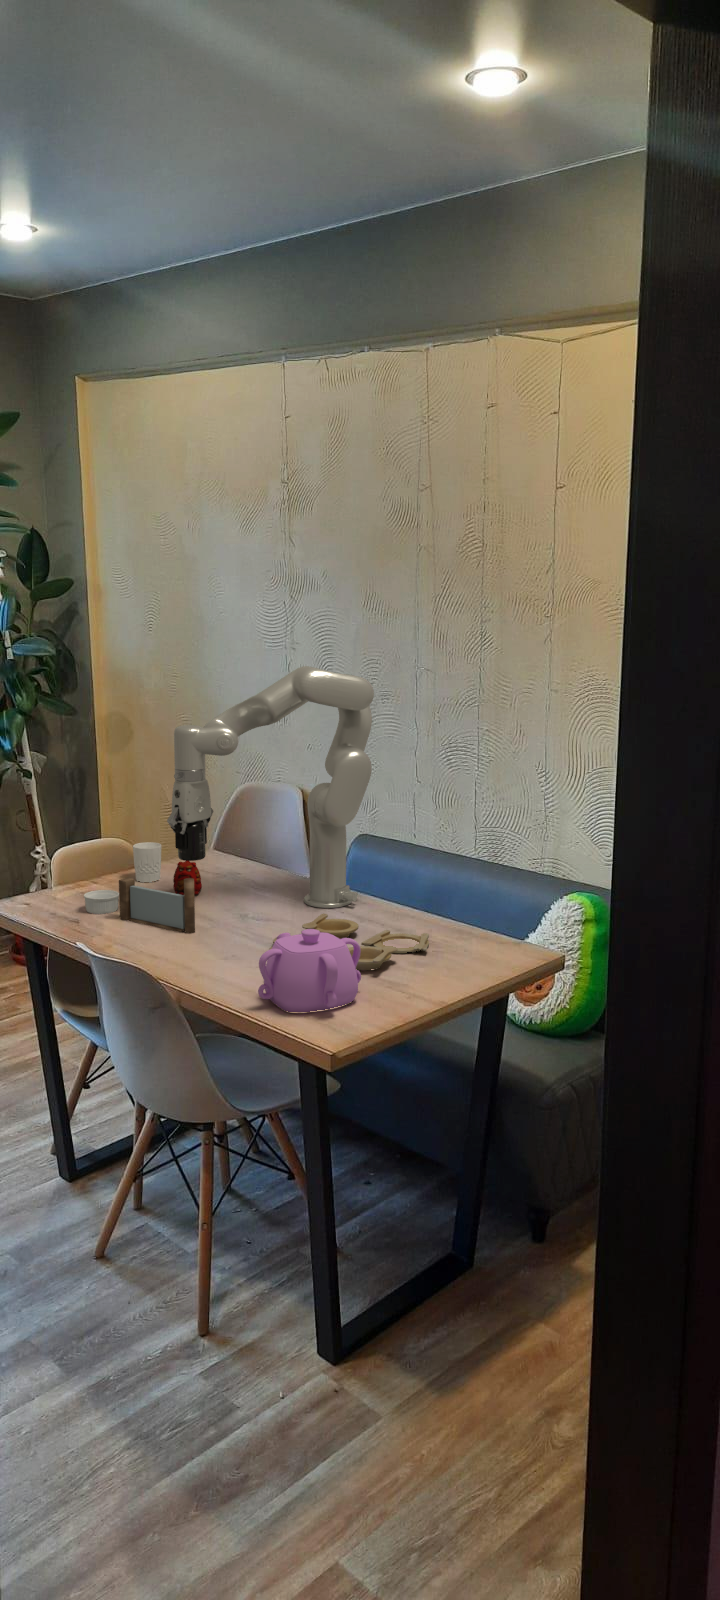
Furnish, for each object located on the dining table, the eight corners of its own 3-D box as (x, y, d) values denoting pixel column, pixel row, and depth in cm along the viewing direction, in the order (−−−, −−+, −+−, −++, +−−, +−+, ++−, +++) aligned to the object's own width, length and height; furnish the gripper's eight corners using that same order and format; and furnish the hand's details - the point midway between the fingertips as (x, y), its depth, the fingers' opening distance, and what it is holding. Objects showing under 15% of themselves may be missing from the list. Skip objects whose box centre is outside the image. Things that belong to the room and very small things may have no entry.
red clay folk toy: (171, 897, 298) (170, 842, 295) (176, 890, 305) (175, 836, 302) (199, 897, 298) (198, 842, 295) (204, 890, 305) (203, 836, 302)
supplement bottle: (196, 853, 284) (195, 807, 282) (210, 858, 279) (209, 811, 277) (172, 857, 280) (171, 810, 278) (186, 862, 275) (185, 815, 273)
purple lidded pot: (333, 1023, 212) (334, 950, 210) (237, 1006, 220) (236, 936, 218) (371, 991, 230) (372, 923, 227) (281, 976, 238) (280, 911, 235)
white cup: (138, 875, 320) (137, 841, 318) (165, 876, 319) (164, 842, 317) (130, 882, 312) (129, 848, 310) (157, 883, 311) (156, 848, 309)
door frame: (198, 931, 268) (197, 878, 266) (189, 934, 266) (188, 881, 264) (128, 916, 280) (126, 865, 278) (120, 919, 278) (118, 868, 275)
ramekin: (88, 905, 290) (87, 889, 289) (122, 905, 290) (122, 889, 289) (81, 915, 281) (80, 898, 280) (116, 915, 281) (115, 898, 281)
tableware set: (443, 943, 262) (444, 927, 261) (395, 982, 236) (395, 964, 235) (310, 924, 276) (310, 908, 275) (250, 958, 250) (250, 941, 249)
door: (190, 926, 270) (189, 894, 269) (183, 929, 268) (182, 896, 267) (138, 915, 279) (137, 884, 278) (130, 917, 277) (129, 886, 275)
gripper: (177, 781, 267) (179, 854, 270) (224, 772, 281) (225, 841, 284) (154, 778, 271) (156, 850, 274) (201, 769, 285) (202, 838, 288)
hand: (191, 845), depth 279 cm, fingers closed on supplement bottle, 6 cm apart
